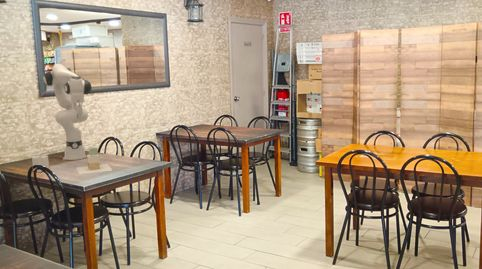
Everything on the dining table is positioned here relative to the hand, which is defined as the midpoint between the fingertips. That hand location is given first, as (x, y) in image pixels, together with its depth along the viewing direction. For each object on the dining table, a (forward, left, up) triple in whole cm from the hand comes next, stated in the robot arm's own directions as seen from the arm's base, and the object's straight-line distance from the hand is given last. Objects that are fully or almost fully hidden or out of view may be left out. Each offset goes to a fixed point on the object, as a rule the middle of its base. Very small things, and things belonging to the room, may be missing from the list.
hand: (79, 119), depth 339 cm
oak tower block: (+12, +6, -34) cm, 37 cm away
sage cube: (+12, +6, -24) cm, 28 cm away
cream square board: (+12, +6, -35) cm, 37 cm away
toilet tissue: (-6, -28, -35) cm, 46 cm away
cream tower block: (+12, +6, -29) cm, 32 cm away
